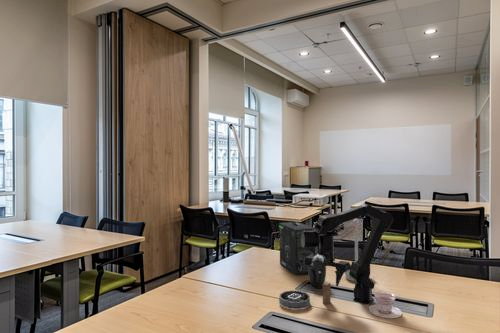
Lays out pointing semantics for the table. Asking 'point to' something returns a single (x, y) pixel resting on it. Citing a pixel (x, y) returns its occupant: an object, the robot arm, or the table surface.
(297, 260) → the headset box
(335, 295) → the table surface
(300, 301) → the tin
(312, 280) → the mug
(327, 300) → the tan wooden plank
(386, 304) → the teacup
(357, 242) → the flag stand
